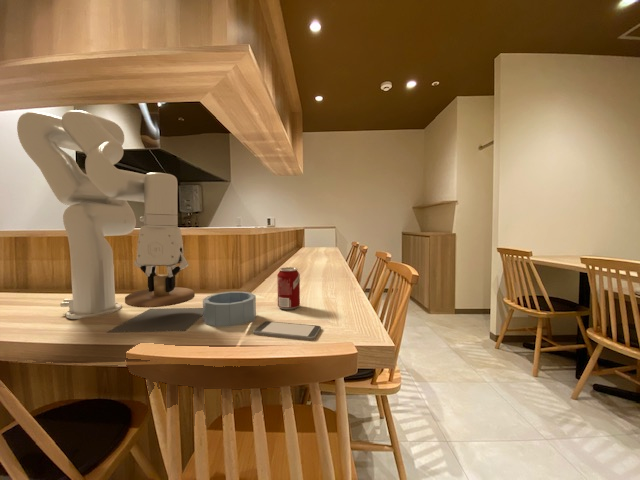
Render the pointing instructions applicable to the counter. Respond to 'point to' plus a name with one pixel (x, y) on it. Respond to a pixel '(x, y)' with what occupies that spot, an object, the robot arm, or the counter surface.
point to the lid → (159, 295)
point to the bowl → (229, 309)
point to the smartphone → (288, 330)
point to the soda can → (288, 288)
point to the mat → (161, 320)
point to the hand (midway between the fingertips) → (161, 290)
